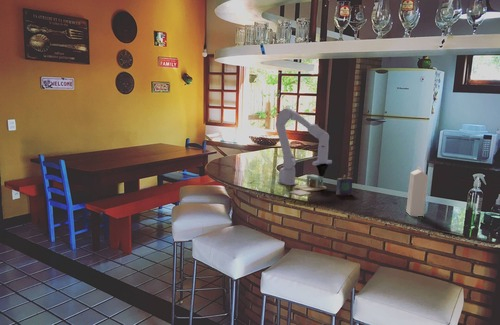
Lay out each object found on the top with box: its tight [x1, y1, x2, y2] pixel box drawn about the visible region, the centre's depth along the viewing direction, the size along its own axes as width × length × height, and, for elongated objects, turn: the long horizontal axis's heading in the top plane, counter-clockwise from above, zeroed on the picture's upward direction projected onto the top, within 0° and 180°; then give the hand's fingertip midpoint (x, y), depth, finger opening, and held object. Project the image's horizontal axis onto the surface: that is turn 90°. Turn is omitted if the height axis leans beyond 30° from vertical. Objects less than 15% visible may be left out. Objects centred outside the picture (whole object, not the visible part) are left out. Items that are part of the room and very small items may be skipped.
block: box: [309, 179, 321, 188], centre depth 224 cm, size 4×4×5 cm
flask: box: [335, 174, 354, 197], centre depth 211 cm, size 9×3×11 cm, turn 109°
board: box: [292, 183, 327, 193], centre depth 222 cm, size 10×16×1 cm, turn 129°
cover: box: [305, 174, 324, 187], centre depth 224 cm, size 8×5×6 cm, turn 39°
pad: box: [289, 189, 312, 197], centre depth 210 cm, size 8×8×1 cm
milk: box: [405, 165, 429, 217], centre depth 178 cm, size 6×6×22 cm
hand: (321, 176), depth 227 cm, fingers closed
